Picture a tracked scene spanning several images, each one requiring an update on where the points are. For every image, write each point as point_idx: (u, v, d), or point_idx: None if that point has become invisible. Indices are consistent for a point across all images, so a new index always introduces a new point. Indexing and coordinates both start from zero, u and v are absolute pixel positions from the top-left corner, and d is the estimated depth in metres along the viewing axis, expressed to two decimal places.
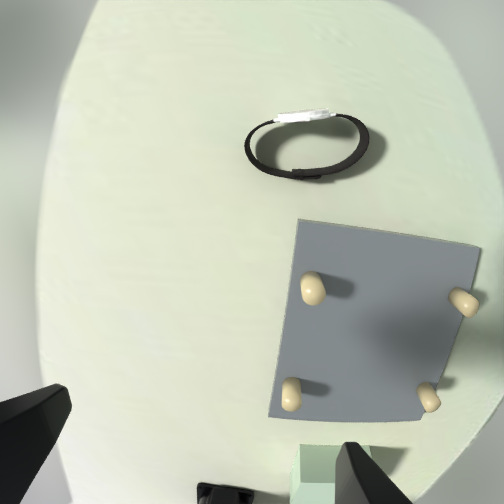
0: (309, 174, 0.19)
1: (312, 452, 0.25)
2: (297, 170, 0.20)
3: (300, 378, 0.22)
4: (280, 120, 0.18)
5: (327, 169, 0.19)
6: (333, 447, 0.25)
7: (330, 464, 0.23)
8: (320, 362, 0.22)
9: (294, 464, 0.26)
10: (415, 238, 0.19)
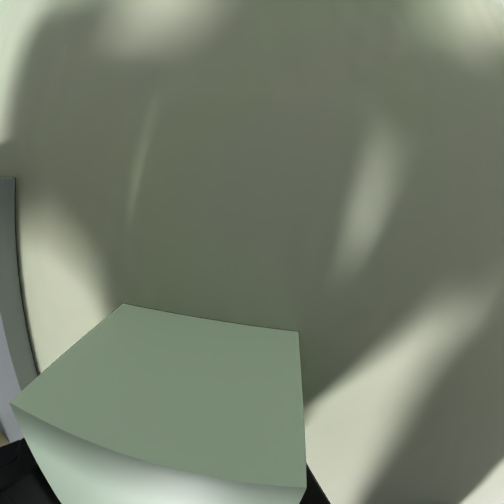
0: None
1: None
2: None
3: None
4: None
5: None
6: None
7: None
8: None
9: None
10: None
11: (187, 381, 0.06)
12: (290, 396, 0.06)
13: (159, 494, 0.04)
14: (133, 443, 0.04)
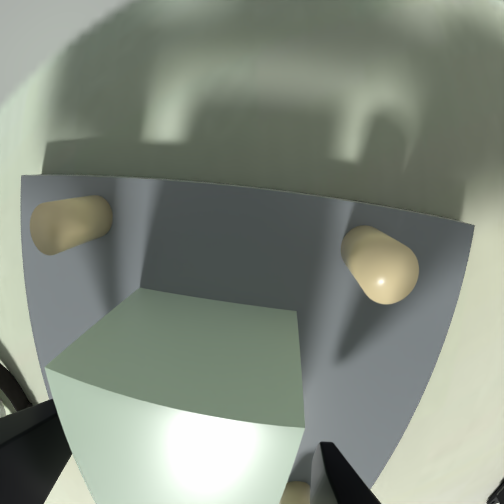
0: None
1: None
2: None
3: None
4: None
5: (18, 401, 0.13)
6: None
7: None
8: None
9: None
10: (30, 319, 0.11)
11: (201, 347, 0.07)
12: (290, 359, 0.07)
13: (178, 443, 0.05)
14: (158, 394, 0.05)
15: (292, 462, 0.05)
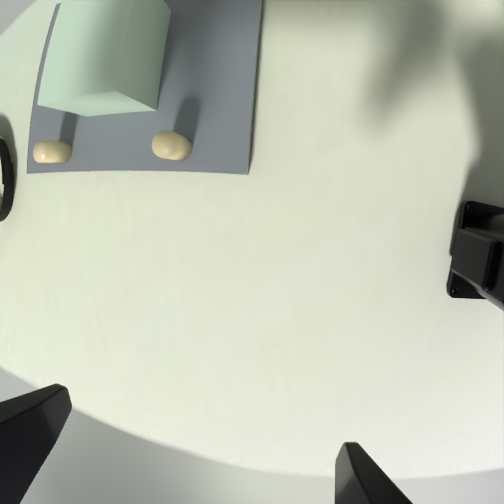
0: (2, 172, 0.18)
1: None
2: None
3: None
4: None
5: (4, 157, 0.18)
6: None
7: None
8: (147, 118, 0.17)
9: (116, 111, 0.16)
10: (39, 67, 0.16)
11: None
12: None
13: None
14: None
15: None
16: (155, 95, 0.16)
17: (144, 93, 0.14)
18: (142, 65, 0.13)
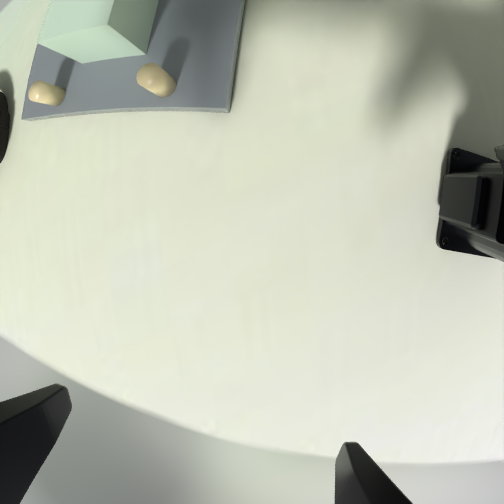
0: None
1: None
2: None
3: None
4: None
5: (2, 108, 0.18)
6: None
7: None
8: (136, 61, 0.16)
9: (109, 55, 0.15)
10: None
11: None
12: None
13: None
14: None
15: None
16: (145, 41, 0.15)
17: (134, 35, 0.14)
18: (135, 11, 0.13)
